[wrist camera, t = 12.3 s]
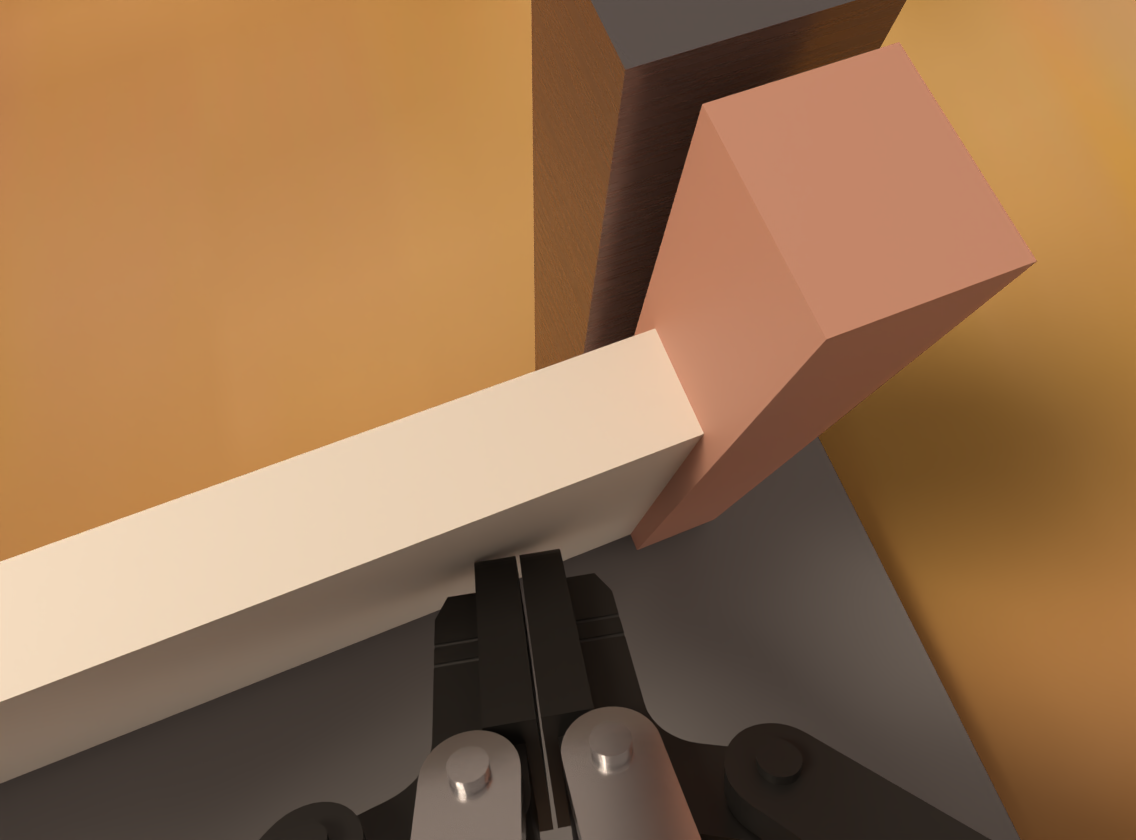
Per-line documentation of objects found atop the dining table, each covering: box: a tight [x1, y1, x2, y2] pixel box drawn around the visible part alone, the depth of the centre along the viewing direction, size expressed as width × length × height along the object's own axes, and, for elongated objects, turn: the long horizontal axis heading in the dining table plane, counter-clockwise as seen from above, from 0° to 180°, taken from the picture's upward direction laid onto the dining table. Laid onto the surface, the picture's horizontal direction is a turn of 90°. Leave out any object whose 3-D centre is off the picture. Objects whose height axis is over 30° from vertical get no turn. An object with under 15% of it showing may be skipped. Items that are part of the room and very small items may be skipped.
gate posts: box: [531, 0, 906, 371], centre depth 12 cm, size 23×3×15 cm, turn 120°
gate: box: [0, 42, 1037, 784], centre depth 11 cm, size 19×2×12 cm, turn 112°
